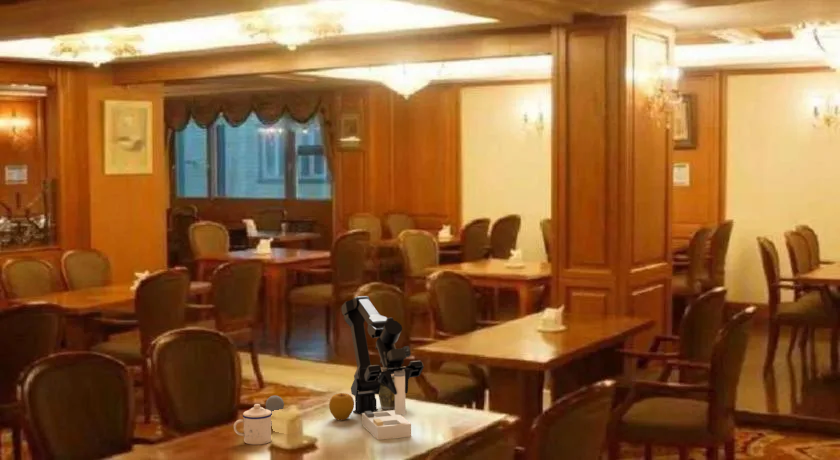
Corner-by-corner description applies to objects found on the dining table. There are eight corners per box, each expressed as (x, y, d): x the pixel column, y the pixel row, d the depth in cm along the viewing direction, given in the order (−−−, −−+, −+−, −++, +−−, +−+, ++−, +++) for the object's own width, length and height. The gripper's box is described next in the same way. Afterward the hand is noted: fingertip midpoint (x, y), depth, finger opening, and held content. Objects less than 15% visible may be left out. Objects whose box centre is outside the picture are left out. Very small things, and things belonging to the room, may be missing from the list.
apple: (358, 420, 369) (357, 394, 368) (333, 423, 366) (333, 397, 365) (350, 415, 377) (349, 389, 376) (326, 417, 374) (325, 392, 373)
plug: (392, 413, 351) (391, 371, 350) (400, 411, 354) (399, 369, 352) (400, 415, 349) (399, 373, 348) (408, 413, 351) (407, 371, 350)
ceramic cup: (373, 405, 390) (372, 377, 389) (400, 403, 393) (399, 375, 392) (383, 414, 378) (382, 385, 377) (410, 411, 381) (410, 382, 380)
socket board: (362, 425, 364) (362, 410, 363) (394, 422, 367) (394, 407, 366) (377, 439, 345) (377, 424, 345) (411, 436, 349) (411, 420, 348)
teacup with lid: (269, 436, 352) (268, 400, 351) (275, 443, 343) (274, 406, 342) (232, 439, 348) (230, 403, 347) (236, 447, 340) (235, 410, 339)
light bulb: (281, 428, 361) (280, 398, 360) (263, 427, 363) (262, 397, 362) (286, 423, 367) (286, 393, 366) (269, 422, 368) (268, 393, 368)
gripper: (366, 340, 349) (379, 382, 340) (421, 335, 356) (435, 376, 347) (358, 360, 357) (371, 401, 348) (412, 355, 364) (425, 395, 355)
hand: (401, 393), depth 349 cm, fingers closed on plug, 3 cm apart
